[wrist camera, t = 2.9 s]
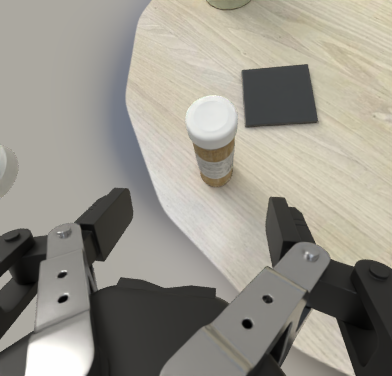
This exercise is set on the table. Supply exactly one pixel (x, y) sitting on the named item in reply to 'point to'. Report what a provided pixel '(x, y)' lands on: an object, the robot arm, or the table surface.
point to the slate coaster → (278, 96)
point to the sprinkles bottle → (213, 137)
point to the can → (227, 3)
